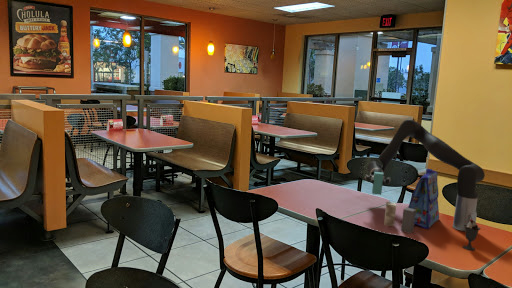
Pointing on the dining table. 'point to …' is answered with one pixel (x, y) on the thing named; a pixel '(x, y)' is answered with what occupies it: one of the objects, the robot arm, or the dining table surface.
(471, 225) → the sundae
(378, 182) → the teal block
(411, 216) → the charcoal block
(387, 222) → the tan block
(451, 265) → the dining table surface
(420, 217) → the lunch bag
